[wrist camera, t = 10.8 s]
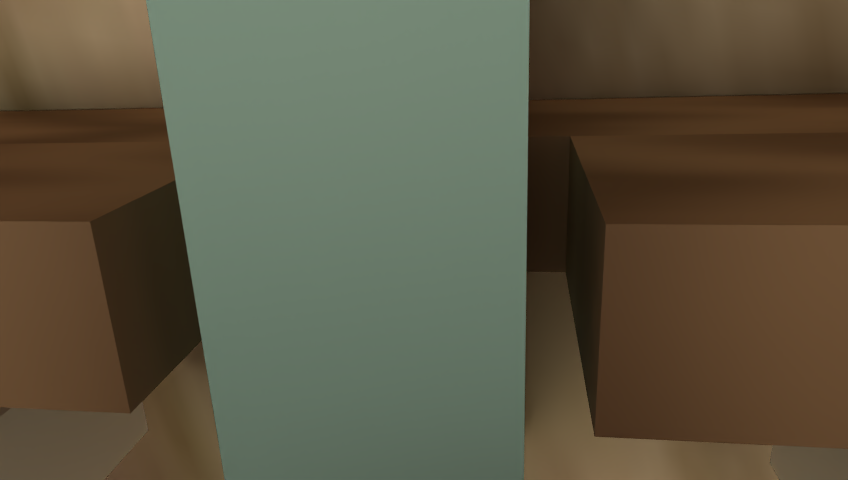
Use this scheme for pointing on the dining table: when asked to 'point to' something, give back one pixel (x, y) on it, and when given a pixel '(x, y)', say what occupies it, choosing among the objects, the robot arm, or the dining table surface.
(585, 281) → the walnut board
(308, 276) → the teal green block
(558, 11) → the dining table surface
